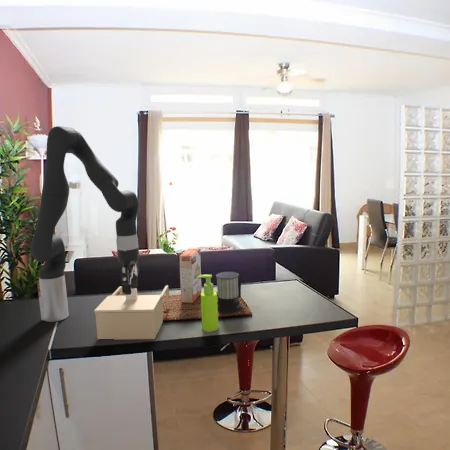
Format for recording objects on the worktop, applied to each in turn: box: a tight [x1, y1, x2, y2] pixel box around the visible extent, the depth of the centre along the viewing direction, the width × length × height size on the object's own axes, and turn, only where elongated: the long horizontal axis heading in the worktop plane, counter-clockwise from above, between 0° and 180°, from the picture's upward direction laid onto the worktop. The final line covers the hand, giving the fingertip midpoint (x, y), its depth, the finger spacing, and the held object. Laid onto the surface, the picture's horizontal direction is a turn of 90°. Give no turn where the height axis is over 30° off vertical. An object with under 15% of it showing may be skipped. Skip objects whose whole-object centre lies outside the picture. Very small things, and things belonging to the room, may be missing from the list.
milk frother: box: [215, 271, 242, 315], centre depth 161 cm, size 14×16×15 cm
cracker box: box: [179, 248, 202, 304], centre depth 173 cm, size 14×6×21 cm, turn 168°
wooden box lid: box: [94, 287, 163, 313], centre depth 141 cm, size 20×14×5 cm
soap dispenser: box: [197, 274, 219, 333], centre depth 141 cm, size 6×7×20 cm
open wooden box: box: [95, 284, 170, 341], centre depth 149 cm, size 20×28×10 cm
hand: (131, 290), depth 144 cm, fingers open, 8 cm apart
